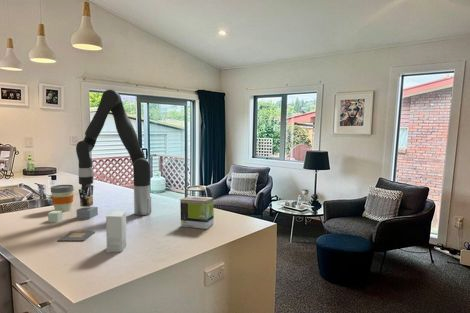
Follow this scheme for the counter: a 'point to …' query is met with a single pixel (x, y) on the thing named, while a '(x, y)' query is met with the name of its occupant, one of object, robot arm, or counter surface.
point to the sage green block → (54, 216)
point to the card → (77, 236)
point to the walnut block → (89, 201)
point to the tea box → (197, 212)
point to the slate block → (87, 212)
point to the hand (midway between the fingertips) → (86, 204)
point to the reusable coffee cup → (62, 197)
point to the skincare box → (116, 231)
